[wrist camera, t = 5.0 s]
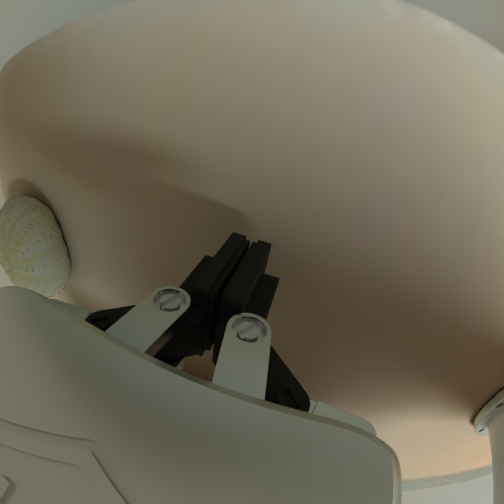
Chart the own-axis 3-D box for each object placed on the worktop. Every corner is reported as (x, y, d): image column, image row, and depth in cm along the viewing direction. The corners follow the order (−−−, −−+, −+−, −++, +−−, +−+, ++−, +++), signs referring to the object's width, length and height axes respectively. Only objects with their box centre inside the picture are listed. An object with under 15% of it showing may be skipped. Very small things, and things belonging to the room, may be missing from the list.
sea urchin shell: (-1, 176, 14) (-31, 237, 9) (77, 178, 19) (69, 239, 14) (8, 255, 19) (-3, 319, 14) (72, 256, 24) (74, 320, 19)
